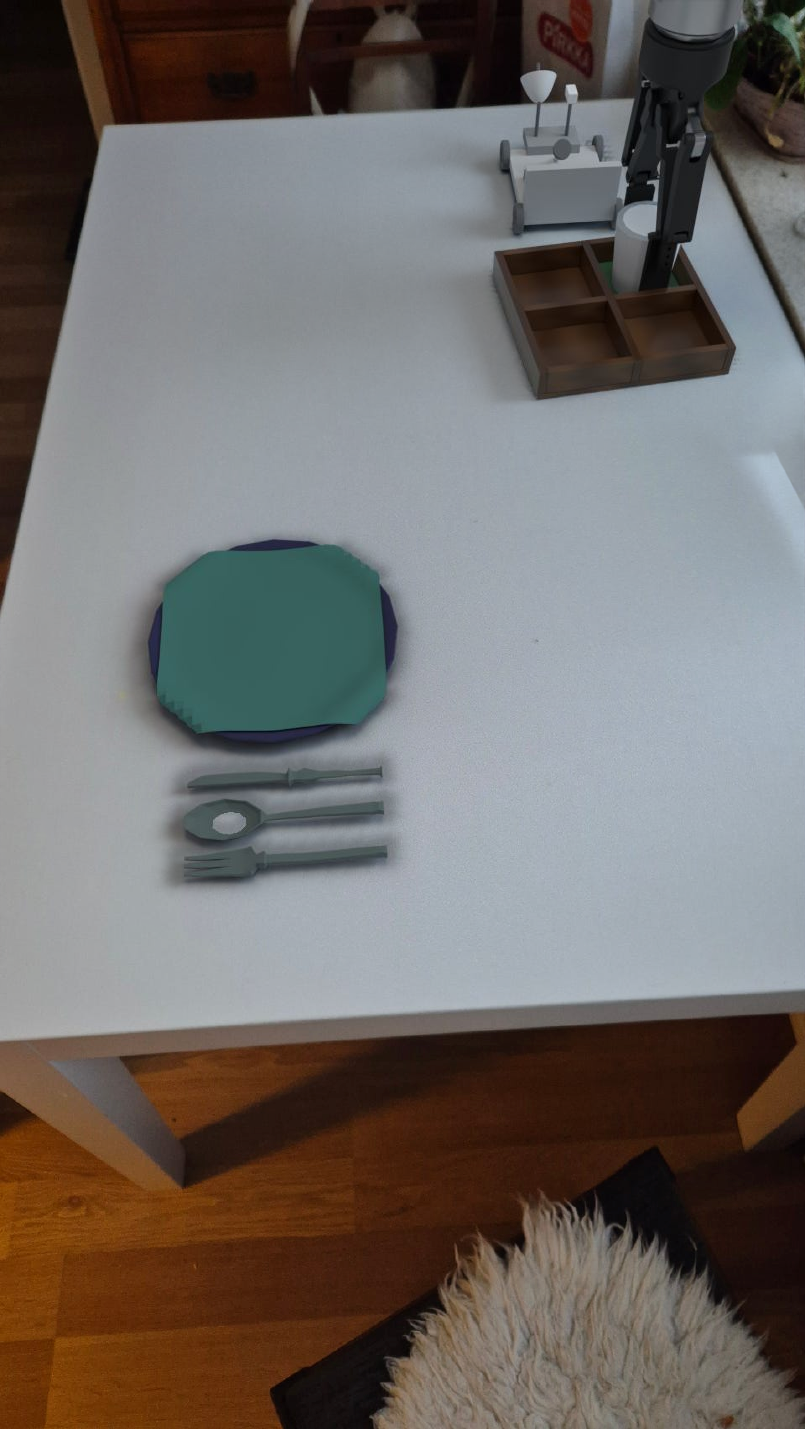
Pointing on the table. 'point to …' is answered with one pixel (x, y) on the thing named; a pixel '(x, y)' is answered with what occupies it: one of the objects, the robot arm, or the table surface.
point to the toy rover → (559, 168)
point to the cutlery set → (272, 671)
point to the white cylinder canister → (632, 244)
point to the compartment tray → (605, 321)
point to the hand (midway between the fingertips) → (640, 269)
